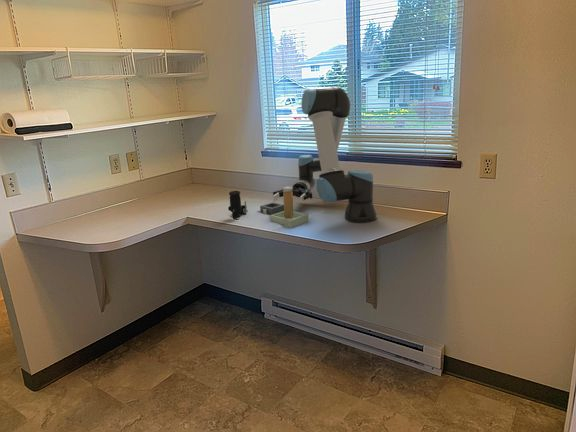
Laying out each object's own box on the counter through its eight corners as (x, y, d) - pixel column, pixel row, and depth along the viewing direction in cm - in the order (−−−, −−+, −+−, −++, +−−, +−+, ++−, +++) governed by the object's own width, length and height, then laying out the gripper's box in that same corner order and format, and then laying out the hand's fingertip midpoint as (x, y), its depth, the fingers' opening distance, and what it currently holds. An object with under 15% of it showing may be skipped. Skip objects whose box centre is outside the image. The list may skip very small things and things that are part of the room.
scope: (246, 189, 225) (240, 194, 216) (248, 215, 229) (242, 221, 220) (231, 189, 227) (224, 194, 217) (233, 215, 231) (226, 220, 221)
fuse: (295, 219, 214) (294, 187, 210) (289, 221, 211) (287, 189, 207) (289, 217, 218) (287, 186, 213) (282, 220, 215) (280, 188, 210)
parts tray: (308, 221, 214) (307, 214, 213) (290, 227, 206) (290, 220, 205) (287, 216, 224) (287, 209, 223) (270, 222, 216) (269, 215, 215)
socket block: (289, 212, 231) (288, 204, 230) (272, 217, 223) (271, 209, 222) (273, 208, 239) (272, 201, 238) (256, 213, 231) (256, 206, 230)
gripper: (324, 196, 227) (312, 208, 208) (278, 194, 235) (263, 205, 216) (323, 182, 224) (312, 192, 205) (277, 180, 233) (262, 190, 214)
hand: (287, 199), depth 211 cm, fingers open, 13 cm apart
